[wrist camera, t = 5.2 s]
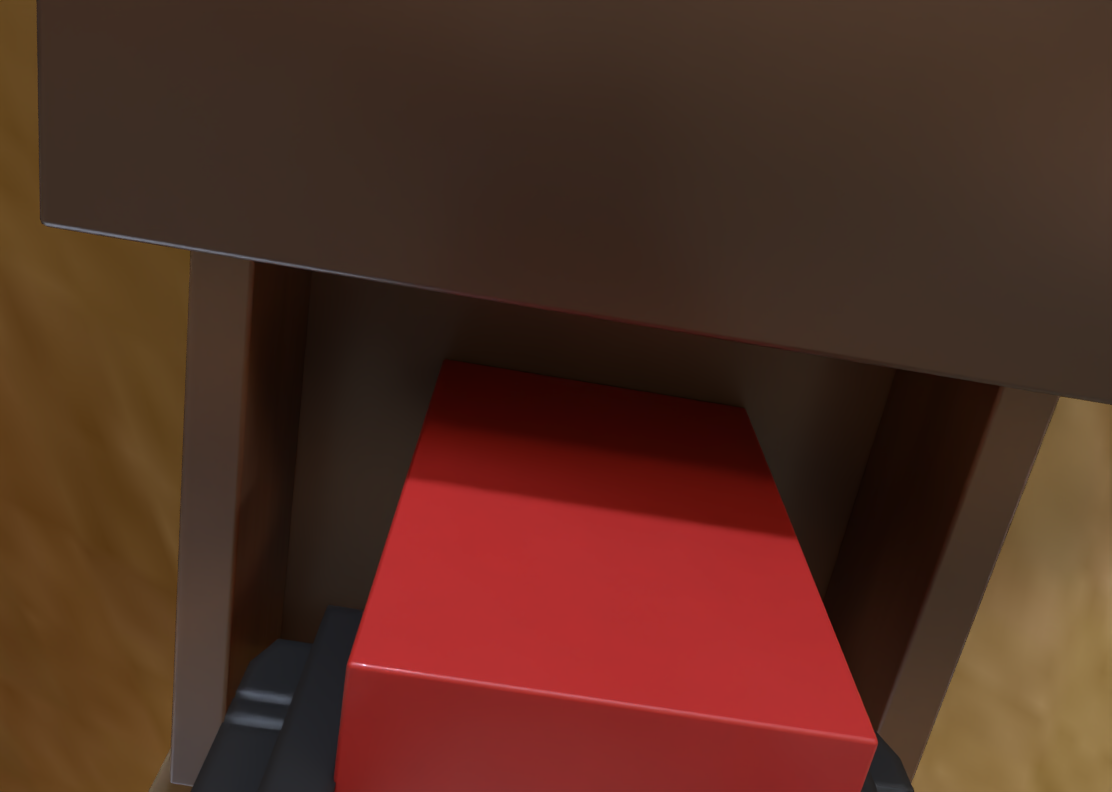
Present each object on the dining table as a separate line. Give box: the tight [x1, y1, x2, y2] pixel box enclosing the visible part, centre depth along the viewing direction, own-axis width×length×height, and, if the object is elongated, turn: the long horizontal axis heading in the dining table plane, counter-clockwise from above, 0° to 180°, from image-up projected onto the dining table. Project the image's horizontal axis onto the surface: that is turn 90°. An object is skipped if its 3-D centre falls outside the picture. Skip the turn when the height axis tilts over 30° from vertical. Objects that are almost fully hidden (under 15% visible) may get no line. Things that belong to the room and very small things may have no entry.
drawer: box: [149, 251, 1060, 792], centre depth 17 cm, size 18×12×5 cm
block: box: [333, 359, 878, 792], centre depth 14 cm, size 5×5×8 cm
